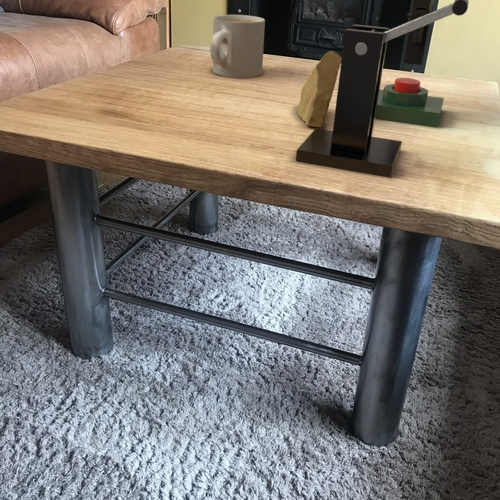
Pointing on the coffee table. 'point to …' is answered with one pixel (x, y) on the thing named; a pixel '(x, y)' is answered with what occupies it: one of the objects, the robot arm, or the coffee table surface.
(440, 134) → the coffee table surface
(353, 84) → the cutter
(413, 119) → the block
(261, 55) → the coffee mug
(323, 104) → the rock
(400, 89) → the button
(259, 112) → the coffee table surface
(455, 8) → the knife lever
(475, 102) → the coffee table surface
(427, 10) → the robot arm
